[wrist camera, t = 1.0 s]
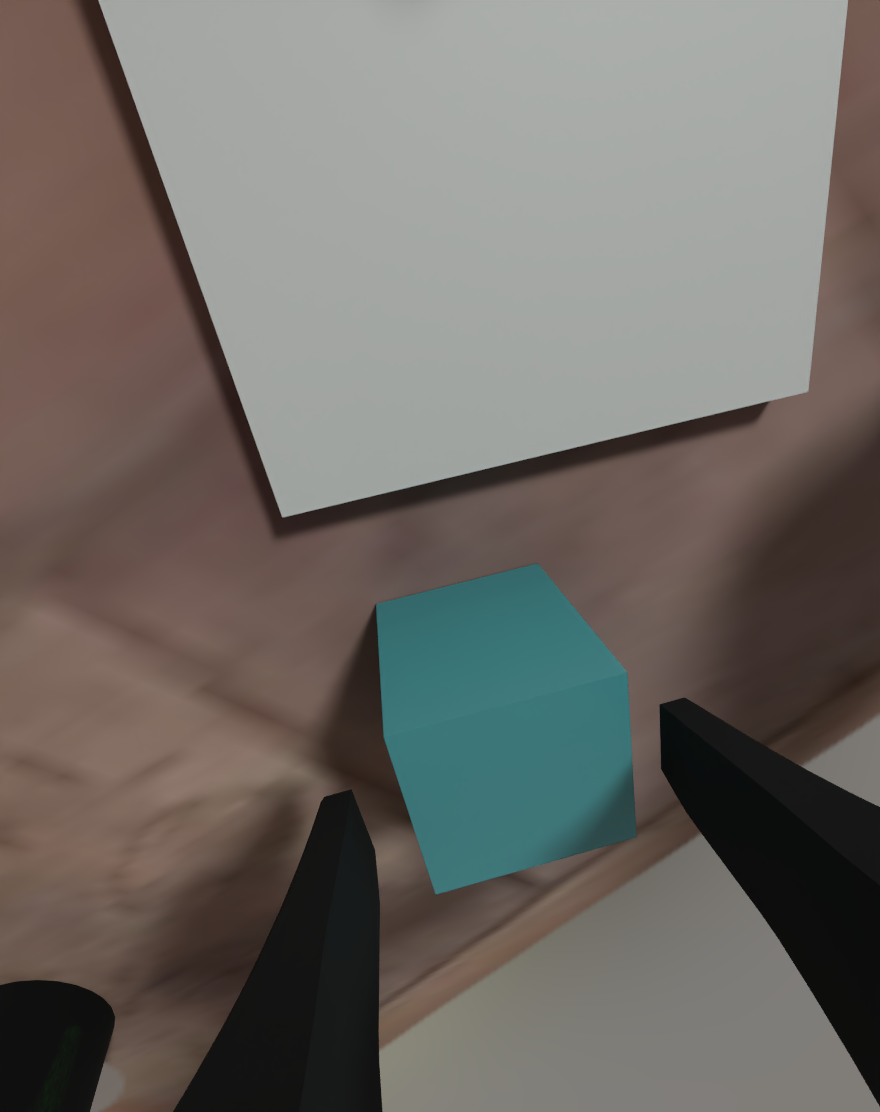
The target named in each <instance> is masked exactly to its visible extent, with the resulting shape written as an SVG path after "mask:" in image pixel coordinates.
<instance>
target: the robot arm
mask: <svg viewBox="0 0 880 1112" xmlns="http://www.w3.org/2000/svg"><path fill="white" fill-rule="evenodd" d="M660 737H661V769H662V771H663V773H664V775H665V777H666V778H667V780H668V782H669V784H670V785H671V787H672V789H673V791H674V792H675V794H676V796H677V797H678V799H679V801H680V802H681V804H682V806H683V807H684V809H685V811H686V812H687V814H688V815H689V817H690V818H691V819H692V821H693V822H694V824H695V825H696V826H697V828H698V829H699V830H700V832H701V833H702V835H703V836H704V837H705V839H706V840H707V841H708V843H709V844H710V845H711V847H712V848H713V850H714V851H715V852H716V854H717V855H718V856H719V857H720V859H721V860H722V862H723V863H724V864H725V866H726V867H727V868H728V870H729V871H730V872H731V874H732V875H733V876H734V878H735V879H736V881H737V882H738V883H739V884H740V886H741V887H742V889H743V890H744V891H745V893H746V894H747V895H748V897H749V898H750V899H751V901H752V902H753V903H754V905H755V906H756V907H757V909H758V910H759V911H760V913H761V914H762V915H763V917H764V919H765V920H766V921H767V923H768V924H769V926H770V927H771V929H772V930H773V932H774V933H775V934H776V936H777V937H778V939H779V940H780V942H781V944H782V945H783V947H784V948H785V950H786V952H787V953H788V955H789V956H790V958H791V960H792V961H793V963H794V964H795V966H796V967H797V969H798V971H799V972H800V974H801V975H802V977H803V978H804V980H805V982H806V983H807V985H808V987H809V988H810V990H811V991H812V993H813V995H814V996H815V998H816V1000H817V1001H818V1003H819V1005H820V1006H821V1008H822V1009H823V1011H824V1013H825V1015H826V1016H827V1018H828V1019H829V1021H830V1023H831V1024H832V1026H833V1028H834V1029H835V1031H836V1033H837V1034H838V1036H839V1038H840V1039H841V1041H842V1043H843V1044H844V1046H845V1048H846V1049H847V1051H848V1053H849V1054H850V1056H851V1058H852V1059H853V1061H854V1063H855V1064H856V1066H857V1068H858V1070H859V1071H860V1073H861V1075H862V1076H863V1078H864V1080H865V1082H866V1083H867V1085H868V1087H869V1089H870V1090H871V1092H872V1094H873V1096H874V1097H875V1099H876V1101H877V1103H878V1104H879V1106H880V807H879V806H876V805H874V804H872V803H870V802H868V801H866V800H864V799H862V798H859V797H858V796H856V795H854V794H852V793H850V792H848V791H846V790H844V789H842V788H840V787H838V786H836V785H834V784H832V783H831V782H828V781H827V780H825V779H823V778H821V777H819V776H817V775H815V774H813V773H812V772H810V771H808V770H806V769H804V768H803V767H801V766H799V765H797V764H795V763H793V762H792V761H790V760H788V759H786V758H785V757H783V756H781V755H779V754H778V753H776V752H774V751H772V750H771V749H769V748H767V747H766V746H764V745H762V744H760V743H759V742H757V741H755V740H754V739H752V738H750V737H749V736H747V735H745V734H744V733H742V732H740V731H739V730H737V729H735V728H734V727H732V726H731V725H729V724H727V723H726V722H724V721H722V720H721V719H719V718H717V717H716V716H714V715H713V714H711V713H709V712H708V711H706V710H704V709H703V708H701V707H700V706H698V705H696V704H695V703H693V702H691V701H690V700H688V699H686V698H681V699H678V700H674V701H671V702H667V703H663V704H660ZM379 930H380V901H379V888H378V876H377V866H376V856H375V849H374V846H373V844H372V841H371V839H370V836H369V834H368V831H367V828H366V826H365V823H364V821H363V818H362V816H361V813H360V810H359V808H358V805H357V803H356V800H355V797H354V795H353V792H352V790H348V791H344V792H341V793H337V794H333V795H330V796H326V797H324V798H323V800H322V801H321V803H320V806H319V809H318V812H317V815H316V818H315V821H314V824H313V827H312V830H311V833H310V836H309V838H308V841H307V844H306V846H305V849H304V852H303V854H302V857H301V860H300V862H299V865H298V867H297V870H296V872H295V875H294V877H293V880H292V882H291V885H290V887H289V889H288V892H287V894H286V897H285V899H284V902H283V904H282V906H281V909H280V911H279V913H278V916H277V918H276V920H275V922H274V924H273V926H272V929H271V931H270V933H269V935H268V937H267V940H266V942H265V944H264V946H263V948H262V950H261V953H260V955H259V957H258V959H257V961H256V963H255V965H254V967H253V969H252V971H251V973H250V975H249V977H248V979H247V981H246V983H245V985H244V987H243V989H242V991H241V993H240V995H239V997H238V999H237V1001H236V1003H235V1004H234V1006H233V1008H232V1010H231V1012H230V1014H229V1016H228V1018H227V1020H226V1021H225V1023H224V1025H223V1027H222V1029H221V1031H220V1032H219V1034H218V1036H217V1038H216V1039H215V1041H214V1043H213V1045H212V1046H211V1048H210V1050H209V1052H208V1053H207V1055H206V1057H205V1059H204V1060H203V1062H202V1064H201V1066H200V1067H199V1069H198V1071H197V1073H196V1074H195V1076H194V1078H193V1079H192V1081H191V1083H190V1084H189V1086H188V1088H187V1090H186V1091H185V1093H184V1095H183V1096H182V1098H181V1100H180V1101H179V1103H178V1104H177V1106H176V1108H175V1109H174V1111H173V1112H382V1099H381V1084H380V1068H379V1032H378V1028H379Z"/></svg>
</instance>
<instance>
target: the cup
mask: <svg viewBox="0 0 880 1112" xmlns="http://www.w3.org/2000/svg"><path fill="white" fill-rule="evenodd" d="M114 1021H115V1016H114V1014H113V1011H112V1008H111V1007H110V1006H109V1005H108V1004H107V1002H106V1001H105V1000H104V999H103V998H101V997H100V996H98V995H96V994H95V993H93V992H92V991H89V990H86V989H84V988H81V987H78V986H76V985H71V984H66V983H61V982H53V981H24V982H14V983H10V984H5V985H0V1112H90V1109H91V1106H92V1102H93V1099H94V1095H95V1092H96V1088H97V1085H98V1081H99V1077H100V1074H101V1070H102V1067H103V1063H104V1060H105V1056H106V1053H107V1049H108V1046H109V1042H110V1039H111V1035H112V1032H113V1028H114Z"/></svg>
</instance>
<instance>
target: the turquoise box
mask: <svg viewBox="0 0 880 1112" xmlns="http://www.w3.org/2000/svg"><path fill="white" fill-rule="evenodd" d="M376 612H377V630H378V647H379V664H380V681H381V698H382V716H383V733H384V740H385V743H386V746H387V749H388V752H389V755H390V758H391V761H392V764H393V767H394V770H395V773H396V776H397V779H398V782H399V785H400V788H401V791H402V794H403V797H404V800H405V803H406V806H407V809H408V812H409V815H410V818H411V821H412V824H413V828H414V831H415V834H416V837H417V840H418V843H419V846H420V849H421V852H422V855H423V858H424V861H425V864H426V867H427V870H428V873H429V876H430V879H431V882H432V885H433V888H434V891H435V894H440V893H443V892H447V891H450V890H454V889H457V888H461V887H464V886H468V885H471V884H475V883H478V882H482V881H485V880H489V879H492V878H496V877H499V876H503V875H506V874H510V873H513V872H517V871H520V870H524V869H527V868H531V867H534V866H538V865H541V864H545V863H548V862H552V861H555V860H559V859H562V858H566V857H569V856H573V855H576V854H580V853H583V852H587V851H590V850H594V849H597V848H601V847H604V846H608V845H611V844H615V843H618V842H622V841H625V840H629V839H632V838H636V820H635V802H634V784H633V766H632V748H631V730H630V713H629V695H628V677H627V672H626V670H625V669H624V668H623V667H622V665H621V664H620V663H619V662H618V661H617V659H616V658H615V657H614V656H613V655H612V653H611V652H610V651H609V650H608V648H607V647H606V646H605V645H604V644H603V642H602V641H601V640H600V639H599V637H598V636H597V635H596V634H595V633H594V631H593V630H592V629H591V628H590V626H589V625H588V624H587V623H586V622H585V620H584V619H583V618H582V617H581V616H580V614H579V613H578V612H577V611H576V609H575V608H574V607H573V606H572V605H571V603H570V602H569V601H568V600H567V598H566V597H565V596H564V595H563V594H562V592H561V591H560V590H559V589H558V588H557V586H556V585H555V584H554V583H553V581H552V580H551V579H550V578H549V577H548V575H547V574H546V573H545V572H544V570H543V569H542V568H541V567H540V566H539V564H538V563H537V564H533V565H530V566H526V567H522V568H518V569H514V570H510V571H506V572H502V573H498V574H494V575H490V576H486V577H482V578H478V579H474V580H470V581H466V582H462V583H458V584H454V585H450V586H446V587H442V588H438V589H434V590H430V591H426V592H422V593H418V594H414V595H410V596H406V597H402V598H398V599H394V600H390V601H386V602H382V603H379V604H376Z"/></svg>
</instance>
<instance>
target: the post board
mask: <svg viewBox="0 0 880 1112" xmlns="http://www.w3.org/2000/svg"><path fill="white" fill-rule="evenodd" d="M98 1H99V4H100V6H101V9H102V12H103V15H104V18H105V20H106V23H107V26H108V29H109V32H110V34H111V37H112V40H113V43H114V46H115V49H116V51H117V54H118V57H119V60H120V63H121V65H122V68H123V71H124V74H125V77H126V79H127V82H128V85H129V88H130V91H131V93H132V96H133V99H134V102H135V105H136V108H137V110H138V113H139V116H140V119H141V122H142V124H143V127H144V130H145V133H146V136H147V138H148V141H149V144H150V147H151V150H152V153H153V155H154V158H155V161H156V164H157V167H158V169H159V172H160V175H161V178H162V181H163V183H164V186H165V189H166V192H167V195H168V198H169V200H170V203H171V206H172V209H173V212H174V214H175V217H176V220H177V223H178V226H179V228H180V231H181V234H182V237H183V240H184V242H185V245H186V248H187V251H188V254H189V257H190V259H191V262H192V265H193V268H194V271H195V273H196V276H197V279H198V282H199V285H200V287H201V290H202V293H203V296H204V299H205V302H206V304H207V307H208V310H209V313H210V316H211V318H212V321H213V324H214V327H215V330H216V332H217V335H218V338H219V341H220V344H221V346H222V349H223V352H224V355H225V358H226V361H227V363H228V366H229V369H230V372H231V375H232V377H233V380H234V383H235V386H236V389H237V391H238V394H239V397H240V400H241V403H242V406H243V408H244V411H245V414H246V417H247V420H248V422H249V425H250V428H251V431H252V434H253V436H254V439H255V442H256V445H257V448H258V451H259V453H260V456H261V459H262V462H263V465H264V467H265V470H266V473H267V476H268V479H269V481H270V484H271V487H272V490H273V493H274V495H275V498H276V501H277V504H278V507H279V510H280V512H281V515H282V518H283V517H287V516H291V515H296V514H300V513H304V512H308V511H312V510H316V509H321V508H325V507H329V506H333V505H337V504H342V503H346V502H350V501H354V500H358V499H362V498H367V497H371V496H375V495H379V494H383V493H387V492H392V491H396V490H400V489H404V488H408V487H412V486H417V485H421V484H425V483H429V482H433V481H438V480H442V479H446V478H450V477H454V476H458V475H463V474H467V473H471V472H475V471H479V470H483V469H488V468H492V467H496V466H500V465H504V464H509V463H513V462H517V461H521V460H525V459H529V458H534V457H538V456H542V455H546V454H550V453H554V452H559V451H563V450H567V449H571V448H575V447H579V446H584V445H588V444H592V443H596V442H600V441H605V440H609V439H613V438H617V437H621V436H625V435H630V434H634V433H638V432H642V431H646V430H650V429H655V428H659V427H663V426H667V425H671V424H675V423H680V422H684V421H688V420H692V419H696V418H701V417H705V416H709V415H713V414H717V413H721V412H726V411H730V410H734V409H738V408H742V407H746V406H751V405H755V404H759V403H763V402H767V401H772V400H776V399H780V398H784V397H788V396H792V395H797V394H801V393H805V392H808V389H809V379H810V369H811V359H812V349H813V339H814V330H815V320H816V310H817V300H818V290H819V280H820V271H821V261H822V251H823V241H824V231H825V221H826V211H827V202H828V192H829V182H830V172H831V162H832V152H833V143H834V133H835V123H836V113H837V103H838V93H839V84H840V74H841V64H842V54H843V44H844V34H845V24H846V15H847V5H848V0H98Z"/></svg>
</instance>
